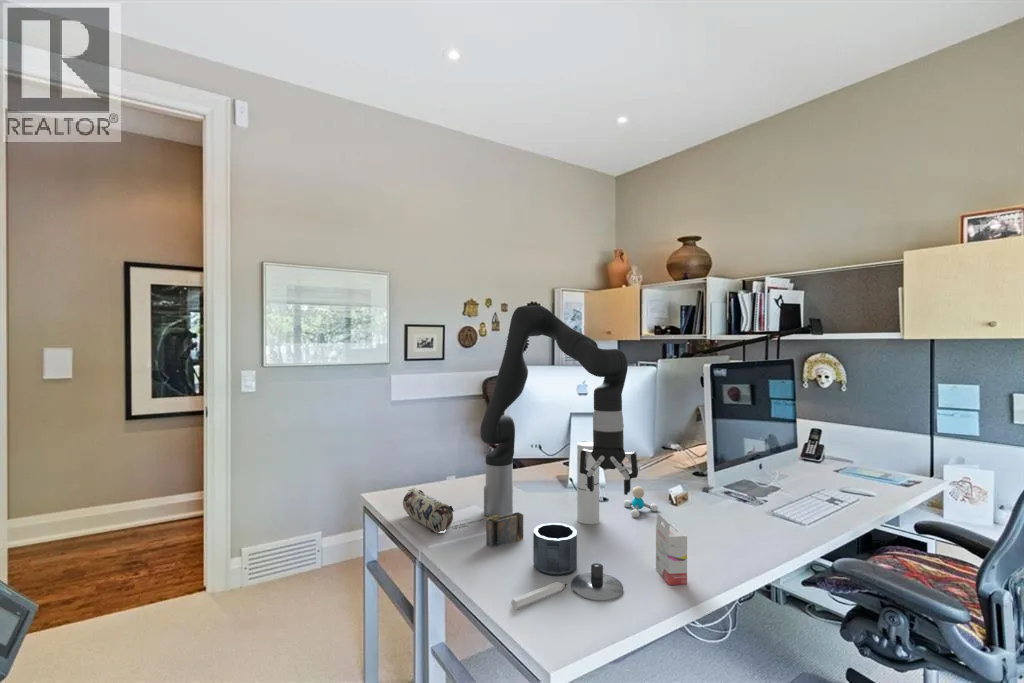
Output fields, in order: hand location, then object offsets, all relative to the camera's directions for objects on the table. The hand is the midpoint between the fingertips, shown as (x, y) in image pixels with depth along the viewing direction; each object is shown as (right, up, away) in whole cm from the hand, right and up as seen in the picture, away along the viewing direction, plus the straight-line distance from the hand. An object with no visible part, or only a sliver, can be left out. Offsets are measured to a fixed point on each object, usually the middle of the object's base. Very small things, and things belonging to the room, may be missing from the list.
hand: (608, 492), depth 121 cm
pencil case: (-52, -21, +34) cm, 66 cm away
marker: (-17, -21, -11) cm, 30 cm away
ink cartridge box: (+15, -21, -1) cm, 26 cm away
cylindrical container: (+1, -21, +37) cm, 42 cm away
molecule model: (+20, -21, +46) cm, 54 cm away
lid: (-4, -21, -6) cm, 22 cm away
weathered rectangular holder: (-26, -21, +20) cm, 39 cm away
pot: (-13, -21, +5) cm, 25 cm away
